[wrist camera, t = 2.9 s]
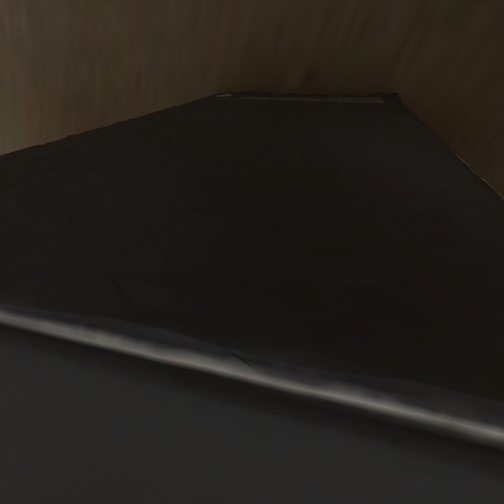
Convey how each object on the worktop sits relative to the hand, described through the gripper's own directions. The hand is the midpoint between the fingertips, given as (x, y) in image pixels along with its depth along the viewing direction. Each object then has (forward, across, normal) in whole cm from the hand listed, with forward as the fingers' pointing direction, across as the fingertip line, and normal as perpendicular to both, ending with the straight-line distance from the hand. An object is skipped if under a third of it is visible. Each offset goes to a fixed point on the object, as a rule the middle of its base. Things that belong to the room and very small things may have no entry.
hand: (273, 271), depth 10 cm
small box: (+3, 0, 0) cm, 3 cm away
